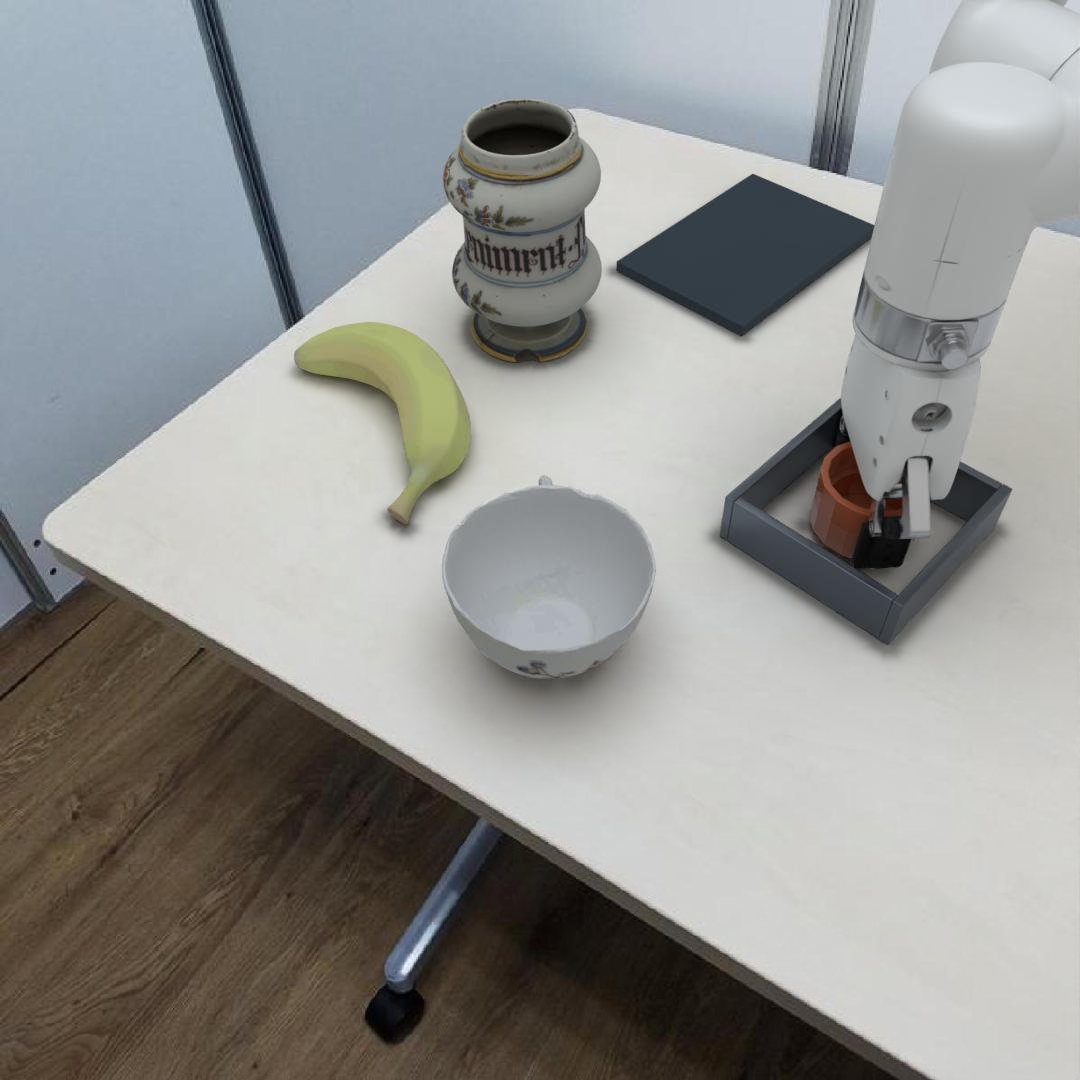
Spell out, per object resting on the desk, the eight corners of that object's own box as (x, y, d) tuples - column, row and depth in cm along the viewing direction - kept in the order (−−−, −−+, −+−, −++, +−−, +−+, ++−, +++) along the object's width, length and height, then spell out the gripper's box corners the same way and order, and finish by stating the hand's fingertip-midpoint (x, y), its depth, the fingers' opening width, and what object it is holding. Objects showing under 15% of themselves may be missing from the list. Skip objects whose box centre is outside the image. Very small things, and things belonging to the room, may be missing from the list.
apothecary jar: (462, 379, 82) (437, 173, 68) (456, 291, 90) (433, 90, 76) (610, 366, 82) (615, 159, 69) (591, 279, 90) (592, 78, 77)
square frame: (829, 437, 76) (840, 397, 73) (994, 528, 70) (1013, 488, 67) (719, 536, 70) (724, 496, 67) (887, 645, 64) (902, 607, 61)
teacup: (657, 721, 61) (665, 644, 55) (450, 727, 61) (435, 651, 55) (638, 532, 71) (643, 450, 65) (459, 538, 71) (448, 456, 65)
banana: (439, 276, 79) (461, 478, 68) (463, 324, 84) (487, 521, 72) (280, 327, 81) (276, 531, 70) (311, 371, 86) (313, 569, 75)
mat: (751, 182, 100) (752, 173, 99) (874, 235, 93) (876, 225, 93) (616, 270, 91) (616, 261, 90) (741, 336, 84) (742, 326, 84)
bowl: (846, 475, 73) (860, 424, 69) (933, 524, 70) (953, 473, 66) (789, 529, 70) (800, 479, 66) (877, 583, 67) (894, 533, 63)
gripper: (1048, 411, 50) (952, 621, 64) (953, 216, 61) (889, 430, 75) (895, 416, 50) (832, 625, 64) (828, 221, 62) (787, 434, 75)
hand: (863, 518), depth 69 cm, fingers closed on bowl, 7 cm apart
